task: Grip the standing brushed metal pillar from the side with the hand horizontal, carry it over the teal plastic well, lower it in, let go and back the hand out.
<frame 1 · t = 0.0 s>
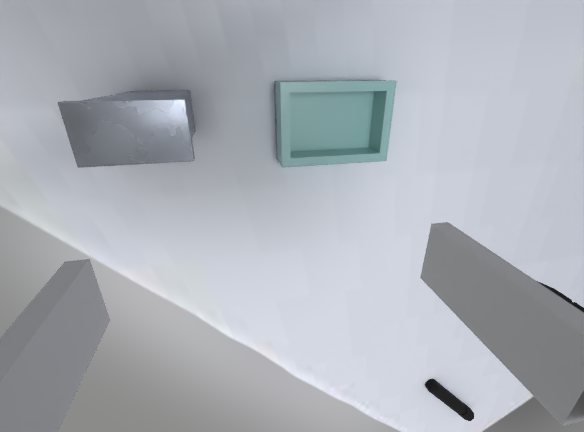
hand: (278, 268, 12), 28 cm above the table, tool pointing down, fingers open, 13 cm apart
brushed metal pillar: (164, 112, 34), on the table
gadget: (446, 394, 70), on the table
well: (327, 120, 38), on the table
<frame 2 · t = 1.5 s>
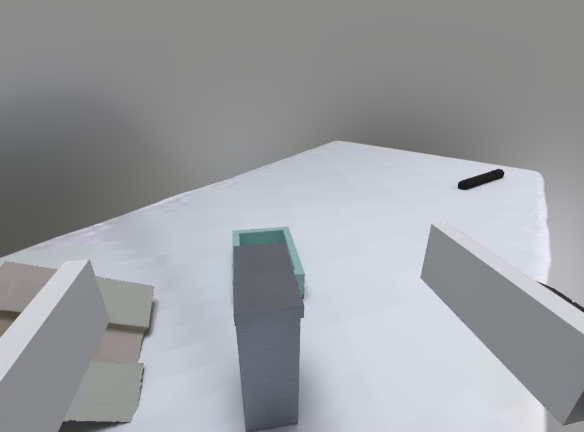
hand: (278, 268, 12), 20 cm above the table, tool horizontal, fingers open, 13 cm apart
wall: (81, 365, 32), on the table
brushed metal pillar: (268, 394, 29), on the table
gadget: (480, 184, 84), on the table
well: (265, 272, 46), on the table
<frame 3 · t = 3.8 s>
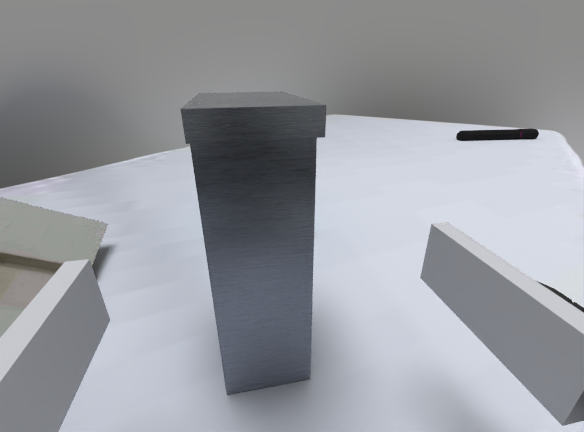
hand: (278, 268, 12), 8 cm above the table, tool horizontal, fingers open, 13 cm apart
brushed metal pillar: (262, 342, 19), on the table
gadget: (495, 141, 75), on the table
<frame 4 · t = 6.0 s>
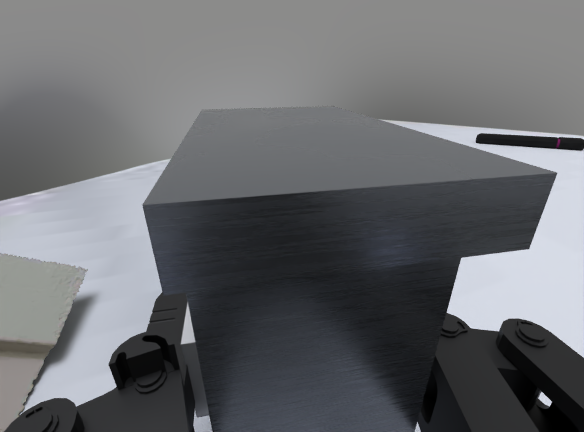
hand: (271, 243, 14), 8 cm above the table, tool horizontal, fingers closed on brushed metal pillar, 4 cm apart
gadget: (525, 148, 69), on the table
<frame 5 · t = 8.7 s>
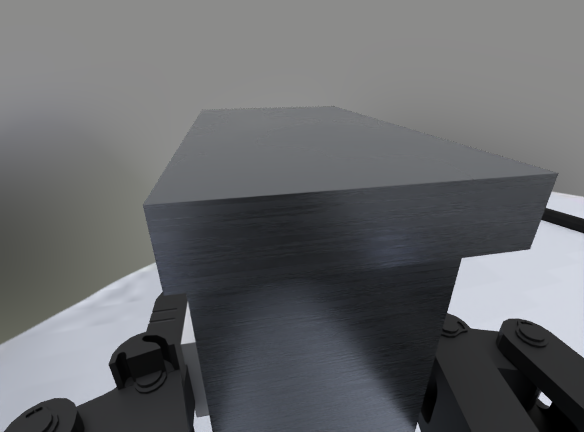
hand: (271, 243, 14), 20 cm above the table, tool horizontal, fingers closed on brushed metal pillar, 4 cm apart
when the fingers open (9 cm above the table, at t = 11.4 s): brushed metal pillar stays where it is, resting on well.
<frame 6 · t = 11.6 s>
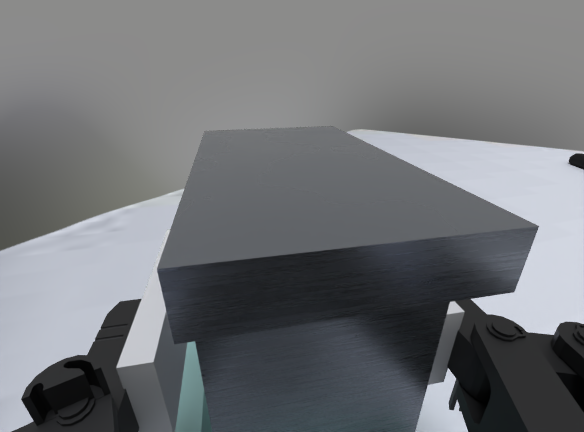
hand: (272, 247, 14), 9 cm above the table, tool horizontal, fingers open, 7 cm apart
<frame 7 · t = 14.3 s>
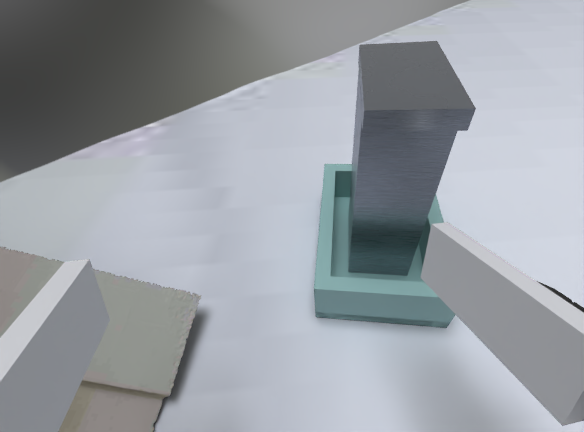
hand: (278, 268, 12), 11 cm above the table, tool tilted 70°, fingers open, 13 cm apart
wall: (72, 422, 19), on the table
brushed metal pillar: (375, 243, 25), point 1 cm above the table, touching well
well: (374, 248, 26), on the table
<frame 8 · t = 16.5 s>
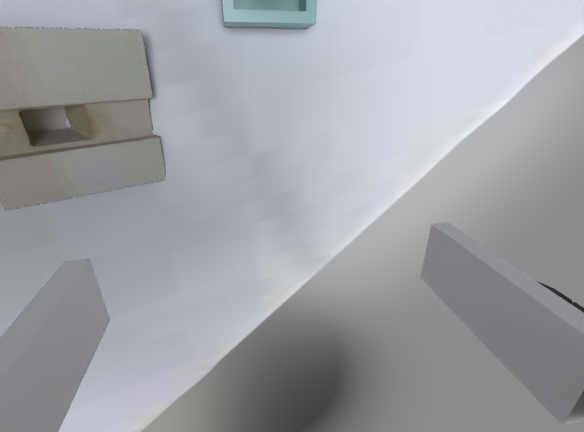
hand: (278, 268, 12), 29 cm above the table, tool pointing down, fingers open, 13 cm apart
wall: (96, 114, 34), on the table
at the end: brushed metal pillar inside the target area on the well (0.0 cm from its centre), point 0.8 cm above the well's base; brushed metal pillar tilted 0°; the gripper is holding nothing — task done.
